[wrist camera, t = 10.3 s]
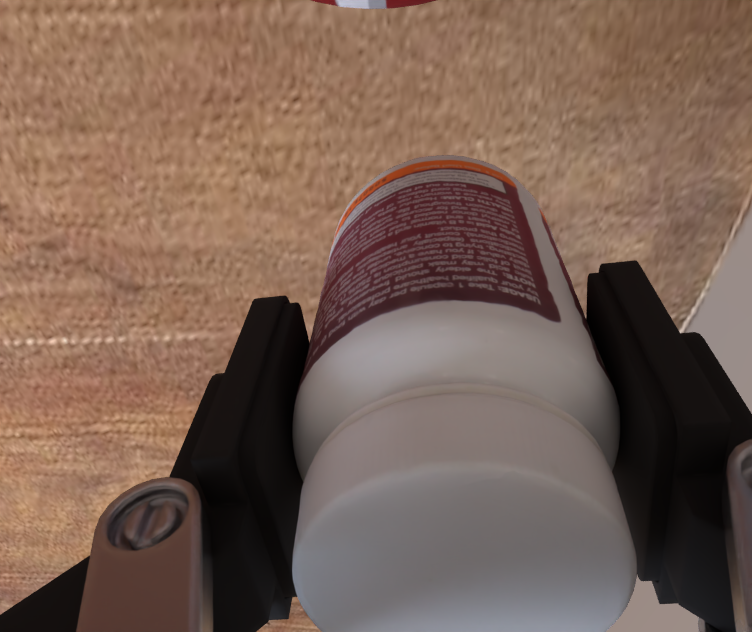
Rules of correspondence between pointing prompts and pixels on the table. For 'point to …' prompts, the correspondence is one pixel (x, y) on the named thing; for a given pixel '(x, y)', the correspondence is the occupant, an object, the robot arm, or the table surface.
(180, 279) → the table surface
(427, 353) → the pill bottle
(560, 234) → the table surface
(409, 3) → the soda can
